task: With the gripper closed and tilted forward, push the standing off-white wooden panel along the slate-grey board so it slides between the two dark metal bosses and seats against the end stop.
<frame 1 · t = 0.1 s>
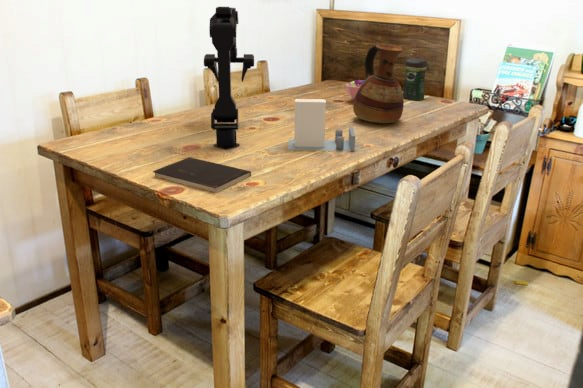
hand: (230, 81, 212), 15 cm above the table, tool pointing down, fingers open, 9 cm apart
hardcover book: (202, 178, 158), on the table
panel: (309, 144, 184), point 1 cm above the table, touching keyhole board
coffee jar: (413, 99, 259), on the table
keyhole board: (321, 147, 185), on the table
ceramic pitcher: (377, 121, 220), on the table
cell model: (366, 102, 252), on the table
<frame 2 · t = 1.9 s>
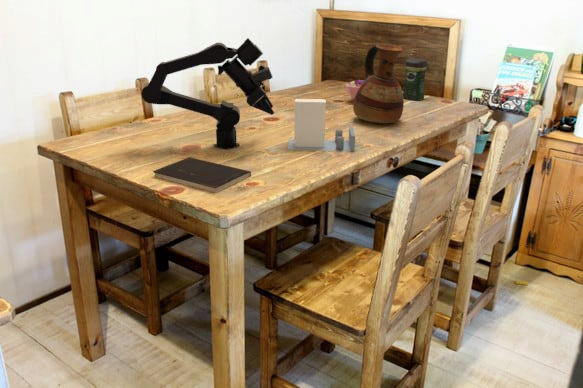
hand: (272, 110, 182), 12 cm above the table, tool tilted 40°, fingers open, 9 cm apart
nothing on the table moved.
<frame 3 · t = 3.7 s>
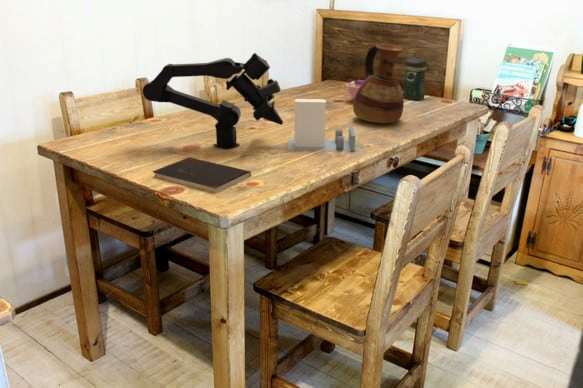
hand: (282, 123, 182), 8 cm above the table, tool tilted 45°, fingers closed
nothing on the table moved.
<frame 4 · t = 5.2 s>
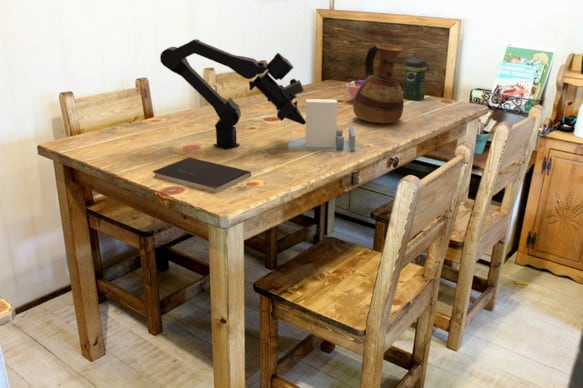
hand: (304, 123, 182), 8 cm above the table, tool tilted 45°, fingers closed
panel: (320, 145, 184), point 1 cm above the table, touching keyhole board
everything else where it was.
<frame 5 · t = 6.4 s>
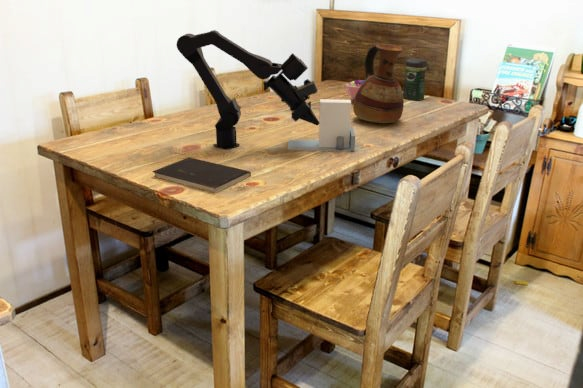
hand: (318, 124, 182), 8 cm above the table, tool tilted 45°, fingers closed, pressing on panel
panel: (333, 145, 184), point 1 cm above the table, touching gripper
everything else where it was.
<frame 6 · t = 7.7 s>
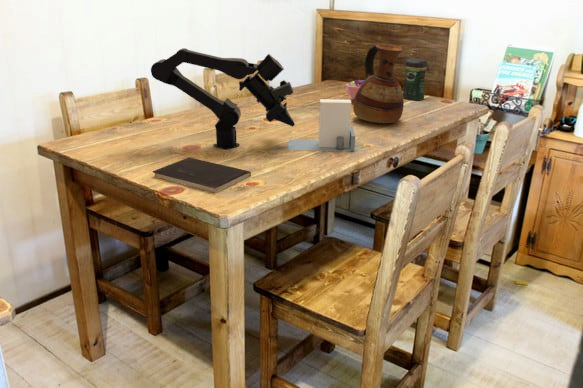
hand: (293, 125, 182), 8 cm above the table, tool tilted 45°, fingers closed
panel: (333, 145, 184), point 1 cm above the table, touching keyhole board
everything else where it was.
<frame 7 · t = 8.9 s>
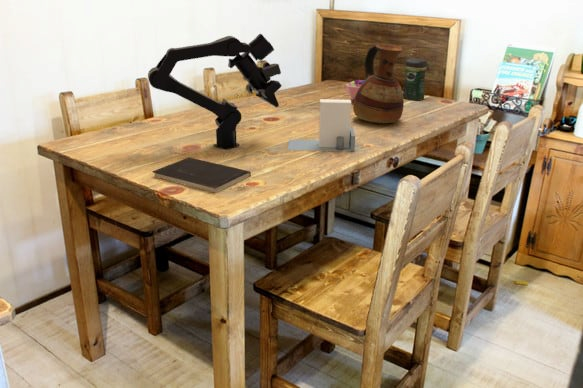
hand: (277, 106, 186), 13 cm above the table, tool tilted 35°, fingers closed
nothing on the table moved.
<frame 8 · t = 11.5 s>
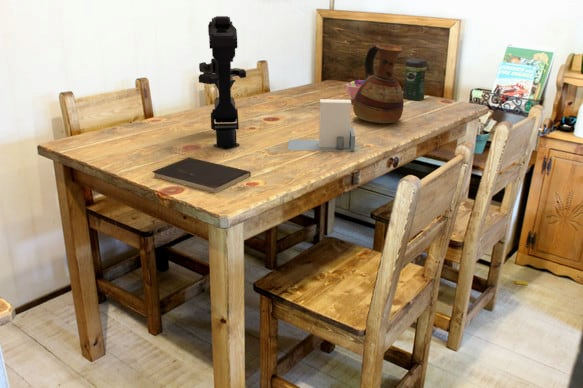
hand: (223, 100, 197), 12 cm above the table, tool pointing down, fingers closed
nothing on the table moved.
at the end: panel 0.4 cm from the target spot, point 1.0 cm above the table; panel tilted 0°; panel moved 8.2 cm from its start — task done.
